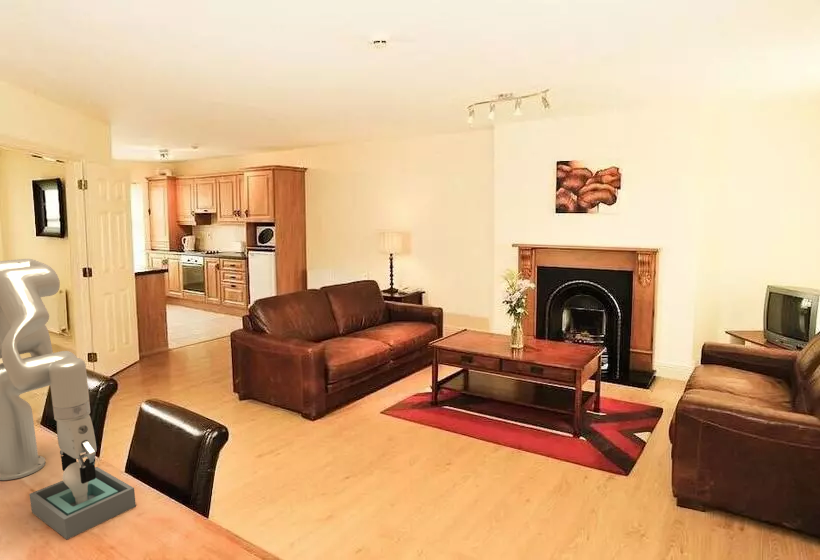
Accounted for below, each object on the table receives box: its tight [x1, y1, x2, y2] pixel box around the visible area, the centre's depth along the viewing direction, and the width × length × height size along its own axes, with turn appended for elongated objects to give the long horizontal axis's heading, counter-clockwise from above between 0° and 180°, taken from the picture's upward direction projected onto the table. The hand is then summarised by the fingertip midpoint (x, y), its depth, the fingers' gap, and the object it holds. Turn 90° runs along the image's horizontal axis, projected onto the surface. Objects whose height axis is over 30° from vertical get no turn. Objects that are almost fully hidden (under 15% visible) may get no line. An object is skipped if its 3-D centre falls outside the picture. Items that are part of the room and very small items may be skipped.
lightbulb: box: [62, 461, 88, 504], centre depth 135 cm, size 6×6×11 cm
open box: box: [28, 466, 137, 540], centre depth 135 cm, size 19×16×5 cm
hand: (79, 474), depth 134 cm, fingers open, 9 cm apart
